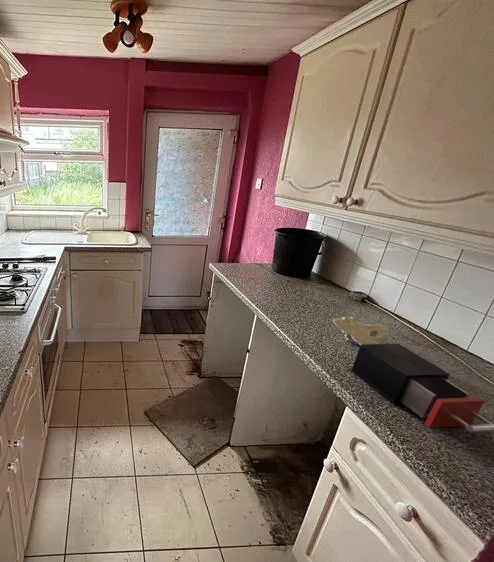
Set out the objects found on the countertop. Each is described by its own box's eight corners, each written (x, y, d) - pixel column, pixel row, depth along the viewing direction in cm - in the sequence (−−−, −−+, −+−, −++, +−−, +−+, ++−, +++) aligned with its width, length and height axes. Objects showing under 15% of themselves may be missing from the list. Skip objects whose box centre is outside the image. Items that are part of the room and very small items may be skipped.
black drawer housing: (435, 402, 85) (450, 374, 82) (393, 404, 84) (406, 375, 80) (387, 369, 99) (398, 343, 95) (351, 370, 97) (360, 344, 94)
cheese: (394, 359, 107) (377, 319, 114) (401, 353, 101) (383, 311, 109) (342, 362, 112) (329, 324, 120) (346, 357, 107) (332, 317, 114)
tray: (499, 445, 71) (516, 419, 68) (455, 448, 70) (470, 422, 67) (417, 388, 89) (427, 365, 86) (380, 389, 88) (390, 366, 85)
